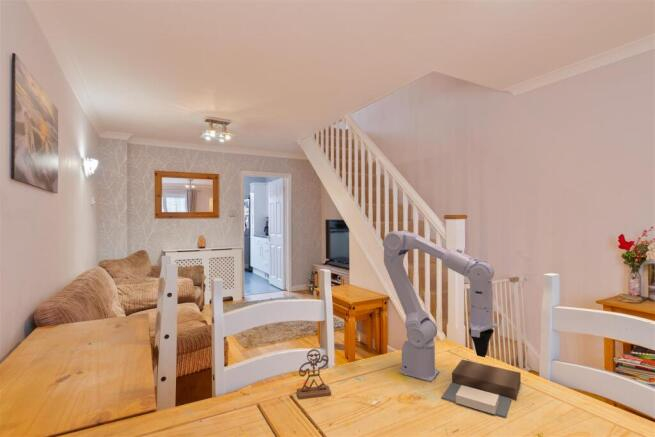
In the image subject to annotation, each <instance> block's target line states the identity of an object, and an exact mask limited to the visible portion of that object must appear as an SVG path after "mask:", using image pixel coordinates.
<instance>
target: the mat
mask: <svg viewBox="0 0 655 437" xmlns="http://www.w3.org/2000/svg"><path fill="white" fill-rule="evenodd" d="M460 387H461V385H459V384H455V383H452V382H451V383H450V384H449V386H448V387H447V388H446V390H445V392H444V393H443V395H442V396H441V400H445V401H448V402H452V403H454V404H457V403H456V394H457V392H458V390H459V389H460ZM511 402H512V399H511V398H507V397H504V396H500V395H499V404H498V407H497V410H496V413H495V414H492V413H490V414H491V415H494V416H498V417H501V418H504V419H506V418H507V416H508V412H509V410H510V406H511ZM460 406H465V405H462V404H460ZM465 407H468V406H465ZM470 408H471V409H475V408H472V407H470ZM475 410H478V409H475ZM478 411H479V410H478ZM480 411H481V412H484V413H487V414H489V413H488V412H485V411H482V410H480Z"/></svg>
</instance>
